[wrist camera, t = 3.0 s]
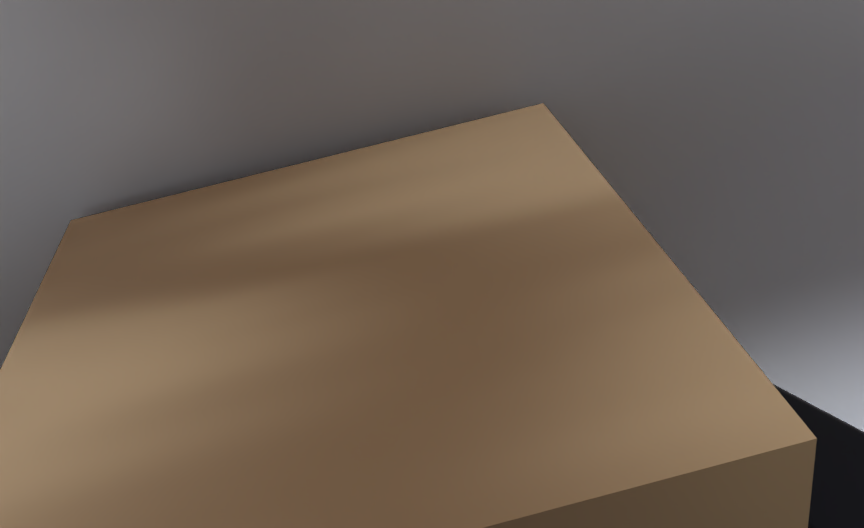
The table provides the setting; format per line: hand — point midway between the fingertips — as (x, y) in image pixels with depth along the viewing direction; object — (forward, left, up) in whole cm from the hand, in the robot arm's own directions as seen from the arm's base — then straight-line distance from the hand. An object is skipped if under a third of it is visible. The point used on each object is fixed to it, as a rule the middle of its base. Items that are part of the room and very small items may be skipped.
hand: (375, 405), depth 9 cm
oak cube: (0, 0, -1) cm, 1 cm away
